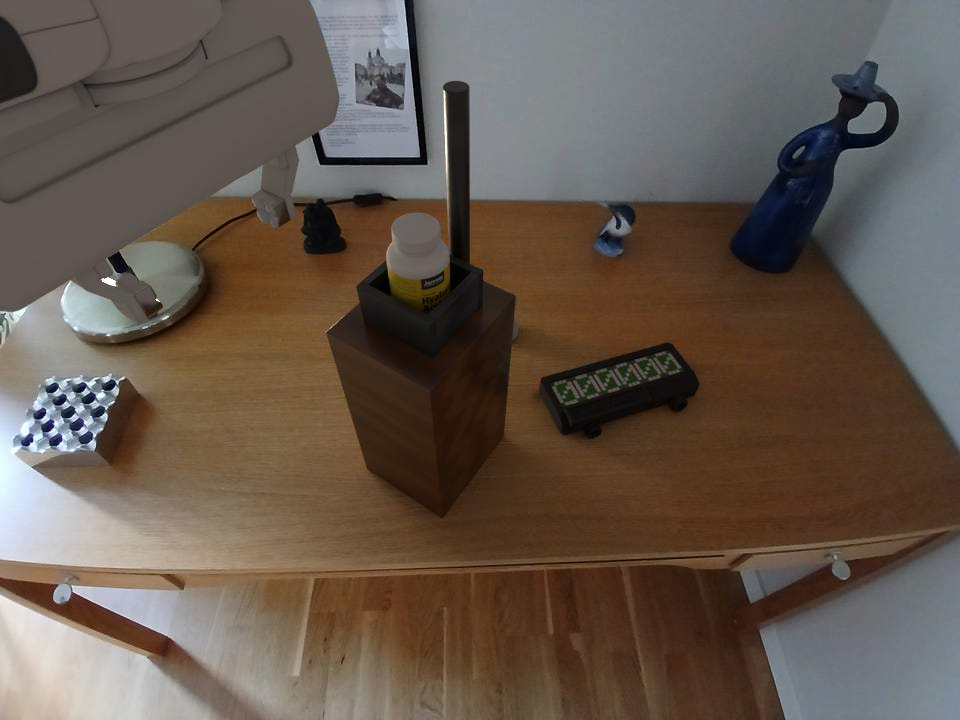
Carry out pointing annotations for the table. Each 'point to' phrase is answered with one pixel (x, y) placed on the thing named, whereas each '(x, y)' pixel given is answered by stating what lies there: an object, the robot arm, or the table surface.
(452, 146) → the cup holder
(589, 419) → the digital display
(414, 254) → the supplement bottle
